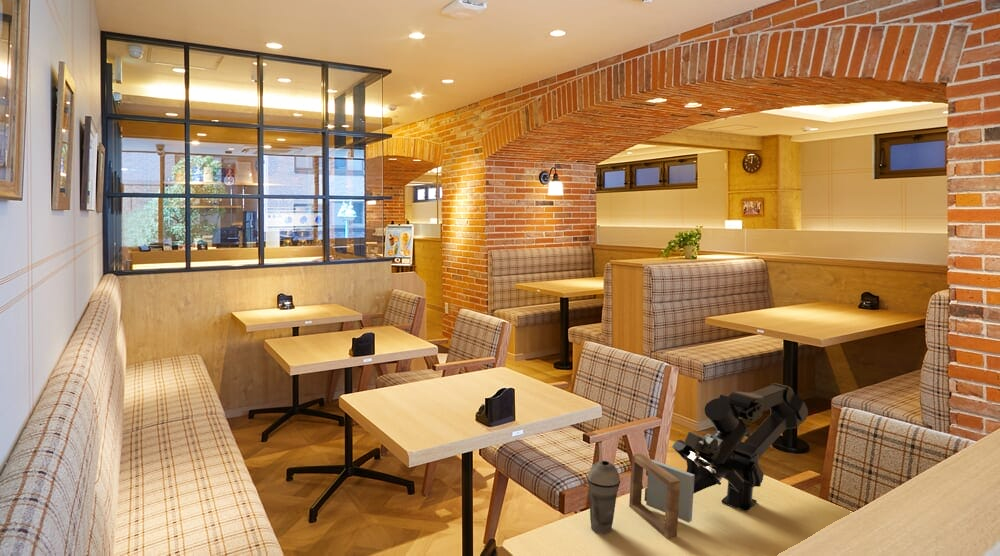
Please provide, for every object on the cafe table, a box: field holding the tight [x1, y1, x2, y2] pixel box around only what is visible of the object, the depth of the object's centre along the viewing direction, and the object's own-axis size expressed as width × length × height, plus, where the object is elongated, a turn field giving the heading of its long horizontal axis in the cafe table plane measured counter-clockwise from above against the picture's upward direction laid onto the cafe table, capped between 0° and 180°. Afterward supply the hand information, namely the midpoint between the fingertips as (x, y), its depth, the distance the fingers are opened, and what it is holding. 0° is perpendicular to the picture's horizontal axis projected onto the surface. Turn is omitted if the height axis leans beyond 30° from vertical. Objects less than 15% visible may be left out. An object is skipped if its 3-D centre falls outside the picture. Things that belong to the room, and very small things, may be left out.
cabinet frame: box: [628, 453, 680, 540], centre depth 139 cm, size 2×15×13 cm, turn 21°
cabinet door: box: [644, 459, 695, 523], centre depth 141 cm, size 2×12×11 cm, turn 45°
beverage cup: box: [586, 441, 621, 535], centre depth 134 cm, size 7×7×20 cm
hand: (684, 493), depth 139 cm, fingers closed
